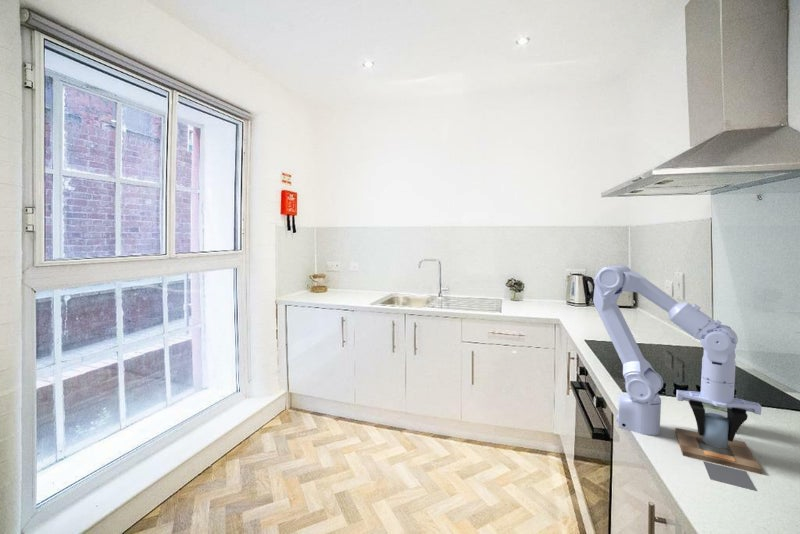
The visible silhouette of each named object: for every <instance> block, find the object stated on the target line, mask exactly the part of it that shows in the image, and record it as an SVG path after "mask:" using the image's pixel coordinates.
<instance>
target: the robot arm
mask: <svg viewBox="0 0 800 534" xmlns="http://www.w3.org/2000/svg"><path fill="white" fill-rule="evenodd" d="M593 284H594V289H593V301H592V302H593V305H594V307H595V310H597V311H596V312H597V313H598V316H599V318H600V320H601V322H602V324H603V326H604V328H605V330H606V332H607V334H608V336H609V338H610V341H611V343H612V345H613V347H614V349H615V351H616V354H617V355H618V357H619V359H620V361H621V364H622V376H623V378H624V380H625V381H624V382H625V391H626V393H625V394H624V393H619V394H618V406H617V407H618V409H617V410H618V411H617V414H616V422H617V428H619V429H623V430H626V431H631V432H634V433H637V434H640V435H643V436H645V435H646V436H658V435H660V434H661V433H660V431H661V415H662V414H661V413H662V412H661V408H662V399H661V397H660V395H659V391H661V390H662V388H664V380H663V378H662V376H661V375H660V374H659V373H658V372H657V371H656V370H654V368H653V366H652V365H651V363H650V362H649V361H648V360H647V359H645V357H644V355H643V353H642V352H641V349H640V347H639V345H638V343H637V342H636V339H635V337H634V335H633V333H632V332H631V331H632V330H631V329H630V328H629V327H630V326H629V325H628V323H627V321H626V319H625V317H624V315H623V313H622V311H621V309H620V306H619V305H618V300H619V299H620V296H621V294H622V293H623V292H629V293H638V294H639V295H641V296H642V297H643V298H645V299H647V300H648V301H650V302H651V303H653V304H654V305H656V306H658V307H659V308H661V309H662V310H664V311H665V312H666V313H667V314H668V316H669V317H668V318H669V321H670V322H672V323H673V324H675V326H678V327H679V328H680V329H681V330H683V331H684V332H685V333H687V334H688V335H689V336H692V337H693V338H694V339H696V340H699V341H700V345H701V347H702V348H703V354H702V355H703V356H702V358H701V377H700V391H694V390H693V391H691V390H680V389H676V394H675V395H676V397H675V398H676V400H677V401H680V402H684V401H685V402H688V404H689V405H690V408H691V410H692V413H693V416H694V418H695V421H696V427H697V432H698V433H699V435H702V436H703V434H704V427H703V421H704V414H705V410H704V406H703V404H707V405H713V406H717V407H723V408H727V416H728V419H729V432H728V441H731V442H733V440H735V439H734V438H735V435H736V433H737V432H738V430H739V429H740V427H741V426H742V425H743V424H744V423H745V421H747V419H748V417H749V415H748V414H747V412H748V413H753V414H754V415H758V416H759V415H760V416H762V405H761V404H760V403H759V402H754V401H749V400H744V399H741V398H737V397H735V383H736V365H737V364H736V360H735V359H736V349H737V348H736V347H737V345H738V342H739V339H738V335H737V333H736V332H735V331H734V330H733V329H732V328H731V326H728V325H726V324H722V321H720V320H719V319H716V320H715V319H713V318H712V317H710V316H709V315H707V314H706V313H704V312H703V311H701V307H700V306H699V305H698V304H691V303H689V302H678V301H677V300H675V298H673V297H671V296H670V295H668V293H666V292H664V291H663V290H662V289H661V288H659V287H658V286H657V285H655V284H654V283H652V281H650V280H648V279H647V278H646V277H644V276H643V275H642V274H640V273H638V272H637V271H635V270H631V268H630V267H628V266H627V265H624V264H618V265H613V266H611V265H610V266H605V267H602V268H601V269H600V270H599V271H598V272H597V274H596V276H595V277H594V278H593ZM623 424H624V425H623Z"/></svg>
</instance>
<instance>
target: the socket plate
mask: <svg viewBox="0 0 800 534" xmlns="http://www.w3.org/2000/svg"><path fill="white" fill-rule="evenodd" d="M674 428H675V430H674V431H675V435H676V438H677V442H678V445H679V449H680V451H681V455H682V456H683V457H688V458H691V459H697V460H700V461H704V462H709V463H713V464H717V465H721V466H725V467H730V468H734V469H738V470H742V471H746V472H751V473H755V474H759V475H762V474H763V473H762V472H763V468H762V467H761V466H760V464H759V462H758V461H757V460H756V458H755V456H754V454H753V453H752V452H751V450H750V448H749V446H747V444H746V442H745V441H742V440H736V439H733V442H731V441H728V447H726V448H725V449H728V451H729V453H730V455H728V454H724V453H719V452H715V451H712V450H711V451H710V450H706V449H702V448H701V447H700V445H699V443H701V444H706V443H705V442H703V441H702V435H699V433H698V431H692V430H689V429H682V428H679V427H674Z"/></svg>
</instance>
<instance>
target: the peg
mask: <svg viewBox="0 0 800 534" xmlns="http://www.w3.org/2000/svg"><path fill="white" fill-rule="evenodd" d="M703 427H704V434H703V436H702V441H703V442H705V443H704V444H706V445H709V446H711V447H714V448H719V449H727V448H726V447H728V432H729V419H728V418H726V417H724V416H722V415H719V414H715V413H705V414H704V421H703Z"/></svg>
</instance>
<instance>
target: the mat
mask: <svg viewBox="0 0 800 534" xmlns="http://www.w3.org/2000/svg"><path fill="white" fill-rule="evenodd" d="M702 462H703V464H704V467H705V470H706V472H707V475H708V476H709V479H710V480H712V481H716V482H719V483H723V484H728V485H731V486H733V487H739V488H743V489H747V490H751V491H754V492H758V490H757V488H756V486H755V484H754V483H753V481H752V479H751V478H750V475H749V474H748V471H746V470H742V469H738V468H733V467H729V466H725V465H721V464H716V463H712V462H708V461H704V460H702Z"/></svg>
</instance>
